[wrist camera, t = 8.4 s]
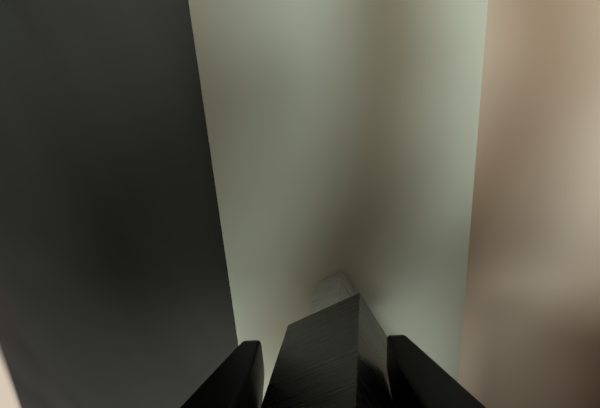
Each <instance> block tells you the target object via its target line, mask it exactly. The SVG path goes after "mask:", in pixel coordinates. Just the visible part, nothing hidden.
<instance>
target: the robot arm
mask: <svg viewBox="0 0 600 408" xmlns="http://www.w3.org/2000/svg"><path fill="white" fill-rule="evenodd" d="M387 373H388V379H389V385H390V390H391V396H392V401H393V407H394V408H486V407H485V406H484V405H483V404H482V403H481V402H479V401H478V400H477V399H476V398H475V397H474V396H473V395H472V394H470V393H469V392H468V391H467V390H466V389H465V388H464V387H463V386H462V385H460V384H459V383H458V382H457V381H456V380H455V379H454V378H453V377H451V376H450V375H449V374H448V373H447V372H446V371H445V370H444V369H443V368H441V367H440V366H439V365H438V364H437V363H436V362H435V361H434V360H432V359H431V358H430V357H429V356H428V355H427V354H426V353H425V352H424V351H422V350H421V349H420V348H419V347H418V346H417V345H416V344H415V343H413V342H412V341H411V340H410V339H409V338H408V337H407V336H405V335H389V336H388V337H387ZM263 388H264V361H263V353H262V345H261V342H260V341H259V340H246V341H243V342H242V343H241V344H240V345H239V346H238V347H237V348H236V349H235V350H234V351H233V352H232V353H231V354H230V355H229V356H228V358H227V359H226V360H225V361H224V362H223V363H222V364H221V365H220V366H219V367H218V368H217V369H216V370H215V371H214V372H213V373H212V375H211V376H210V377H209V378H208V379H207V380H206V381H205V382H204V383H203V384H202V385H201V386H200V387H199V388H198V389H197V390H196V391H195V393H194V394H193V395H192V396H191V397H190V398H189V399H188V400H187V401H186V402H185V403H184V404H183V405H182V406H181V407H180V408H261V405H262V400H263Z"/></svg>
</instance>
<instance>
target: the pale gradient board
mask: <svg viewBox="0 0 600 408" xmlns="http://www.w3.org/2000/svg"><path fill="white" fill-rule="evenodd" d="M188 1H189V8H190V15H191V22H192V29H193V36H194V43H195V50H196V56H197V63H198V70H199V77H200V84H201V91H202V98H203V105H204V112H205V118H206V125H207V132H208V139H209V146H210V153H211V160H212V167H213V174H214V180H215V187H216V194H217V201H218V208H219V215H220V222H221V229H222V236H223V242H224V249H225V256H226V263H227V270H228V277H229V284H230V291H231V298H232V304H233V311H234V318H235V325H236V332H237V339H238V346H239V345H240V344H241V343H242V342H243V341H246V340H259V341H260V342H261V345H262V353H263V361H264V388H263V399H264V396H265V393H266V390H267V387H268V384H269V381H270V378H271V375H272V372H273V369H274V366H275V363H276V360H277V357H278V354H279V351H280V348H281V345H282V342H283V339H284V336H285V333H286V330H287V327H288V325H289V324H291V323H294V322H296V321H298V320H300V319H302V318H305V317H307V316H308V314H309V310H310V307H311V303H312V299H313V295H314V291H315V287H316V283H317V282H319V281H321V280H323V279H325V278H327V277H329V276H331V275H333V274H335V273H337V272H340V271H343V272H344V274H345V275H346V277H347V279H348V280H349V282H350V283H351V285H352V287H353V288H354V290H355V291H356V293H357V294H358V293H360V294H361V295H362V297H363V299H364V300H365V302H366V303H367V305H368V307H369V308H370V310H371V311H372V313H373V315H374V316H375V318H376V319H377V321H378V323H379V324H380V326H381V327H382V329H383V331H384V332H385V334H386V335H387V337H388V336H389V335H405V336H407V337H408V338H409V339H410V340H411V341H412V342H413V343H415V344H416V345H417V346H418V347H419V348H420V349H421V350H422V351H424V352H425V353H426V354H427V355H428V356H429V357H430V358H431V359H432V360H434V361H435V362H436V363H437V364H438V365H439V366H440V367H441V368H443V369H444V370H445V371H446V372H447V373H448V374H449V375H450V376H451V377H453V378H454V379H455V380H456V381H457V382H458V383H459V384H460V385H462V386H463V387H464V388H465V389H466V390H467V391H468V392H469V393H470V394H472V395H473V396H474V397H475V398H476V399H477V400H478V401H479V402H481V403H482V404H483V405H484V406H485V407H486V408H600V0H188ZM262 402H263V400H262Z"/></svg>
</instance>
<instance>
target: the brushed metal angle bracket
mask: <svg viewBox="0 0 600 408" xmlns="http://www.w3.org/2000/svg"><path fill="white" fill-rule="evenodd" d="M261 408H394V407H393V401H392V396H391V390H390V385H389V379H388V373H387V335H386V334H385V332H384V331H383V329H382V327H381V326H380V324H379V323H378V321H377V319H376V318H375V316H374V315H373V313H372V311H371V310H370V308H369V307H368V305H367V303H366V302H365V300H364V299H363V297H362V295H361V294H360V293H358V294H357V293H356V291H355V290H354V288H353V287H352V285H351V283H350V282H349V280H348V279H347V277H346V275H345V274H344V272H343V271H340V272H337V273H335V274H333V275H331V276H329V277H327V278H325V279H323V280H321V281H319V282H317V283H316V287H315V291H314V295H313V299H312V303H311V307H310V310H309V314H308V316H307V317H305V318H302V319H300V320H298V321H296V322H294V323H291V324H289V325H288V327H287V330H286V333H285V336H284V339H283V342H282V345H281V348H280V351H279V354H278V357H277V360H276V363H275V366H274V369H273V372H272V375H271V378H270V381H269V384H268V387H267V390H266V393H265V396H264V399H263V402H262V405H261Z"/></svg>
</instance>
